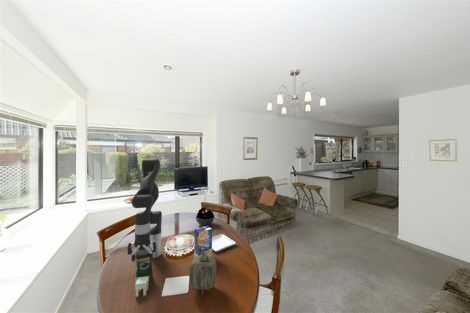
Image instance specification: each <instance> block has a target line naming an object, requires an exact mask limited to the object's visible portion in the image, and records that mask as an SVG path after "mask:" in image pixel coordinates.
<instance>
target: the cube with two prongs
mask: <svg viewBox="0 0 470 313" xmlns="http://www.w3.org/2000/svg"><path fill="white" fill-rule="evenodd" d="M149 282H150V281H149V276H146V277H138V279H137V282H135V284H134V290H135V298H137V297H139V295H140V292H141V290H142V296H144V297H145V296H147V291H148V290H149Z"/></svg>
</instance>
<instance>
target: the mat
mask: <svg viewBox="0 0 470 313" xmlns="http://www.w3.org/2000/svg"><path fill="white" fill-rule="evenodd" d="M189 287H190V282H189V275H184V276H175V277H166V278H165V282H164V284H163V289H162V292H161V297H163V298H164V297H168V296H170V297H171V296H176V295H183V294H189Z"/></svg>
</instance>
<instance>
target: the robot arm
mask: <svg viewBox="0 0 470 313" xmlns="http://www.w3.org/2000/svg"><path fill="white" fill-rule="evenodd" d="M160 169H161V162H160V159H159V158H143V159H142V161H141V170H142V177H143V178H142V180H141V181H140V186H139V189H138V190H137V192H136V193H135V194H134V195H133V197H132V199H131V206H132V207H133V208H134V209H145V210H141V211H139V212H136V214H135V225H134V242H133V241H130V242H128V245H127V253H126V254H127V255H130V256H131V261H132V263H135V262H136V260H135V256H136V251H137V250H145V249H146V250H147V251H149V253H150V260H151V259H156V258H159V257H160V256H161V255H162V219H163V214H162V213H163V212H162V211H161V210H156V211H155V210H153V211H152V208H153V207H154V205H155V203H156V202H157V200H158V199H159V195H160V194H159V193H160V191H159V186H158V185H157V183H156V179H157V177H158V174H159V173H160ZM151 225H154V226H152V227H151ZM133 246H134V247H135V248H134V249H133ZM132 249H133V250H132Z"/></svg>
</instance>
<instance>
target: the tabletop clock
mask: <svg viewBox="0 0 470 313" xmlns="http://www.w3.org/2000/svg"><path fill="white" fill-rule="evenodd" d="M200 248H207V249H208V250H209V251H210V249H209V248H208V247H199V248H198V250H199V249H200ZM198 250H197V252H198ZM198 253H200V252H198ZM207 253H209V252H206V253H204V251H203V253H200V254H201V255H199V256H195V257H194V256H193V258H192V261H191V264H190V267H189V272H188V276H189V286H190V287H191V288H192V289H193V290H201V291H200V294H201V295H204V294H205V291H204V290H209V289H212V288H214V287H215V283H216V277H217V268H218V267H217V259H216V256H214V255H212V256H211V255H206V254H207Z"/></svg>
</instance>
